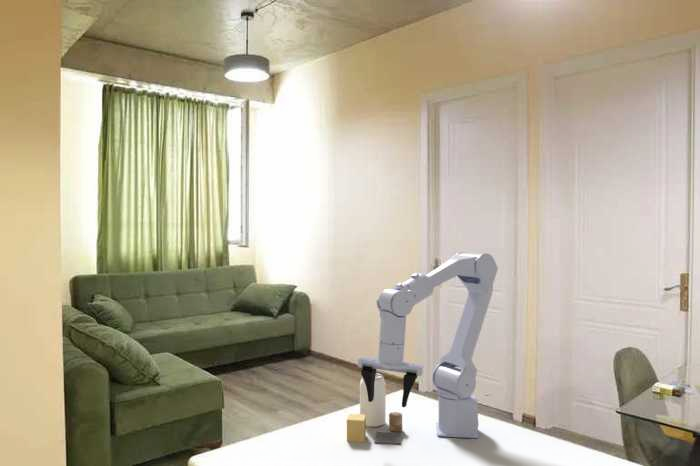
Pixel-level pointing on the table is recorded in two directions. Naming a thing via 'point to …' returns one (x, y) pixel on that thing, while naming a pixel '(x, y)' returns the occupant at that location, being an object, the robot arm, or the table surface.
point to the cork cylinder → (395, 422)
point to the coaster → (388, 438)
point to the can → (374, 402)
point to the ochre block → (356, 427)
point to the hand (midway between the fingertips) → (387, 403)
